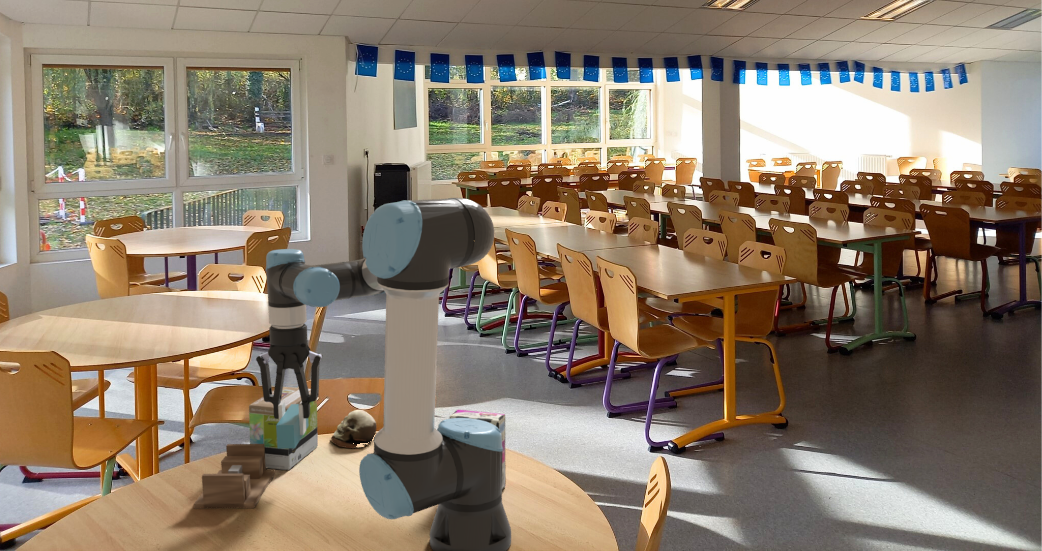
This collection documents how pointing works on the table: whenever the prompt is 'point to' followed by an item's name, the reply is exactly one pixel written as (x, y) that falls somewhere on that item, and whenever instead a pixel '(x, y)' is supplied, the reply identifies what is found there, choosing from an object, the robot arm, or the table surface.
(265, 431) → the tea box
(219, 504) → the cradle
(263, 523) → the table surface
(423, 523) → the table surface
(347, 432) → the skull
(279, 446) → the long teal rectangular block
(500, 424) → the candy bar box
